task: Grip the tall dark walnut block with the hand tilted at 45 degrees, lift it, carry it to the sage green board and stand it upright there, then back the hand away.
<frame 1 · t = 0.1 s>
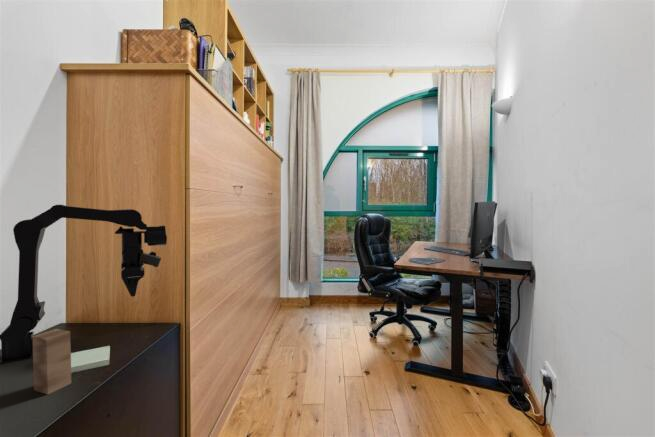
hand: (132, 292, 106), 14 cm above the cabinet, tool pointing down, fingers open, 9 cm apart
walnut block: (53, 386, 76), on the cabinet
sage board: (87, 361, 89), on the cabinet
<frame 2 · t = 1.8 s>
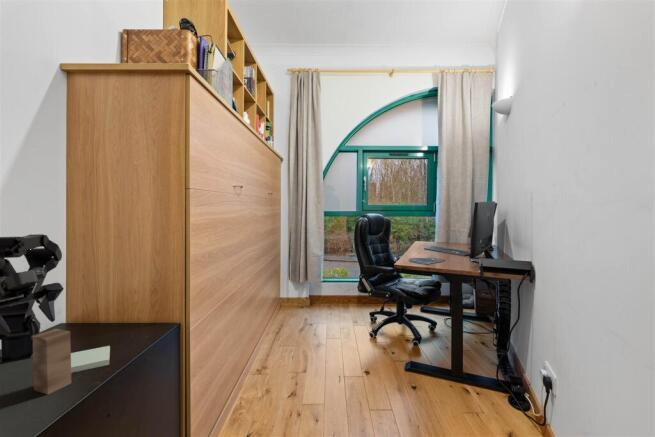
hand: (32, 327, 78), 13 cm above the cabinet, tool tilted 45°, fingers open, 9 cm apart
nothing on the cabinet moved.
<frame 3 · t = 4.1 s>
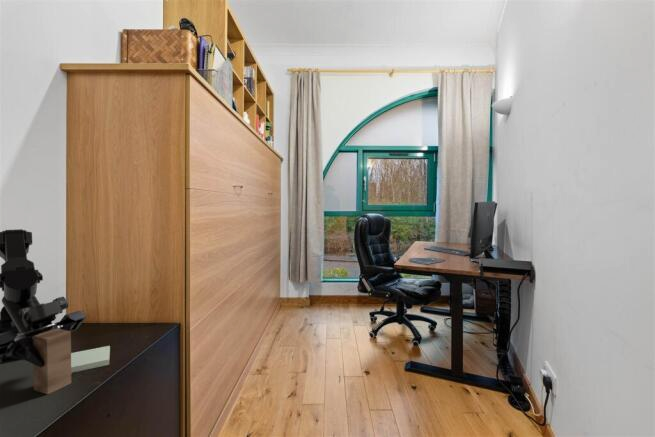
hand: (56, 360, 76), 7 cm above the cabinet, tool tilted 45°, fingers closed on walnut block, 5 cm apart
walnut block: (53, 386, 76), on the cabinet, touching gripper
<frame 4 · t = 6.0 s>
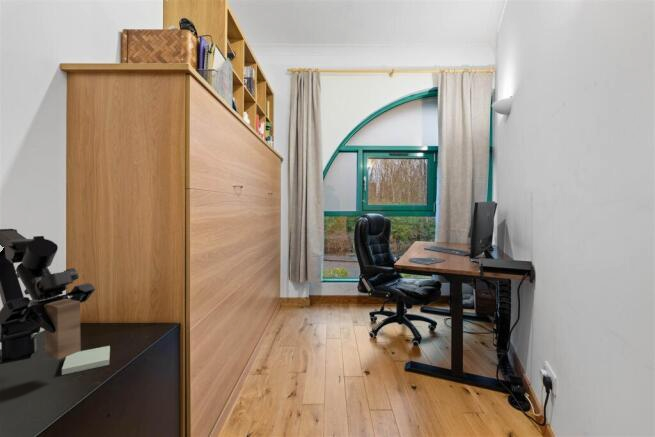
hand: (66, 327, 79), 13 cm above the cabinet, tool tilted 45°, fingers closed on walnut block, 5 cm apart
walnut block: (63, 353, 80), point 6 cm above the cabinet, touching gripper
when the fingers open (9 cm above the cabinet, at t = 8.1 s): walnut block stays where it is, resting on sage board.
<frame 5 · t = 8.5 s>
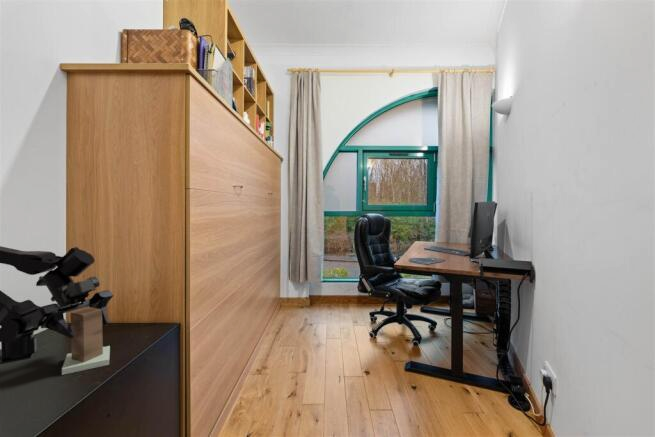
hand: (90, 330, 88), 9 cm above the cabinet, tool tilted 45°, fingers open, 9 cm apart
walnut block: (87, 356, 88), point 1 cm above the cabinet, touching sage board
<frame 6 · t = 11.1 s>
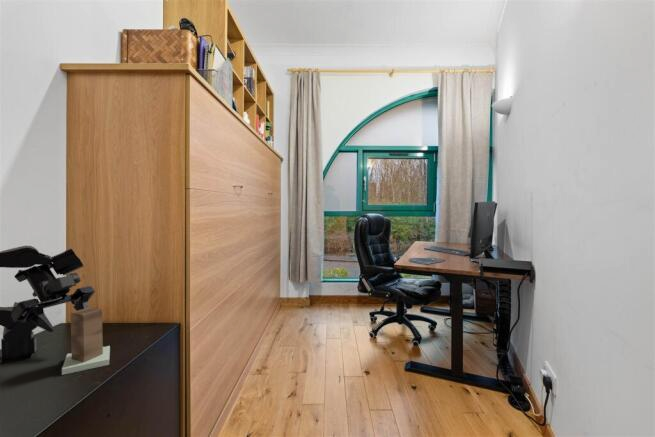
hand: (70, 325, 90), 10 cm above the cabinet, tool tilted 45°, fingers open, 9 cm apart
nothing on the cabinet moved.
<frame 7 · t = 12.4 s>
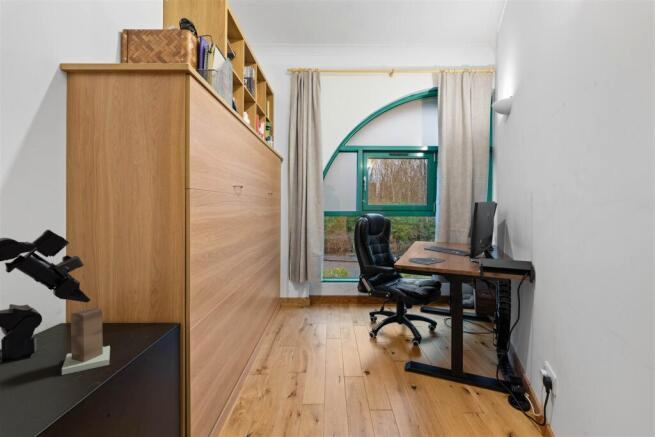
hand: (85, 298, 103), 14 cm above the cabinet, tool tilted 45°, fingers open, 9 cm apart
nothing on the cabinet moved.
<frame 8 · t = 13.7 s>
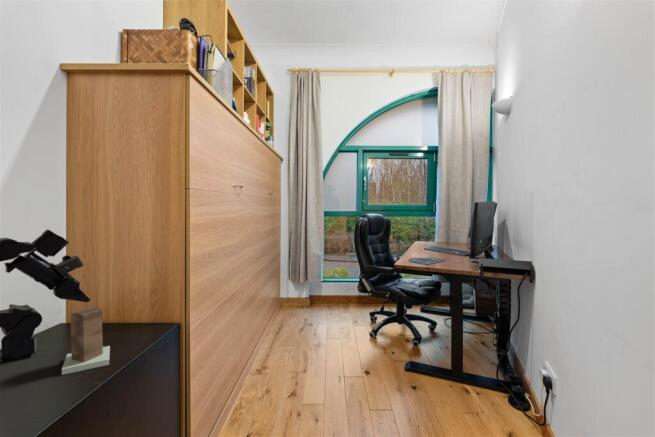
hand: (85, 298, 103), 14 cm above the cabinet, tool tilted 45°, fingers open, 9 cm apart
nothing on the cabinet moved.
at the end: walnut block 0.0 cm off-centre on the sage board, point 1.5 cm above the sage board's base; walnut block tilted 0°; the gripper is holding nothing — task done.
